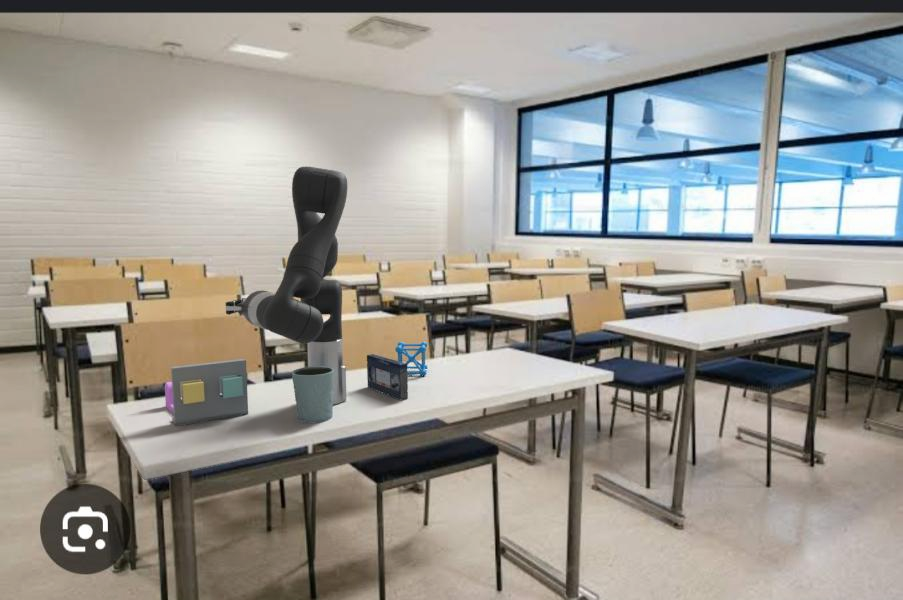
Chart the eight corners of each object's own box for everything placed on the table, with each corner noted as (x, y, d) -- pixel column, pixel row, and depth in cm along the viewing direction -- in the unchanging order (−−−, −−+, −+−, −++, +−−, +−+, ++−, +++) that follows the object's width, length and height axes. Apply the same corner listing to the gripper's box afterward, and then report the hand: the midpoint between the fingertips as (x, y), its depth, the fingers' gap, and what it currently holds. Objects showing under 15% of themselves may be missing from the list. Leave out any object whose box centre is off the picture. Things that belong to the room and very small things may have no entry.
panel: (243, 409, 155) (240, 356, 154) (248, 414, 151) (246, 360, 150) (172, 420, 146) (169, 364, 145) (175, 426, 142) (172, 368, 140)
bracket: (165, 406, 159) (164, 381, 158) (187, 403, 162) (186, 378, 161) (179, 418, 149) (178, 391, 148) (202, 413, 152) (201, 387, 151)
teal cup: (342, 417, 148) (341, 370, 147) (306, 426, 141) (305, 377, 140) (321, 409, 155) (320, 364, 154) (285, 417, 149) (284, 370, 147)
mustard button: (199, 395, 148) (198, 377, 148) (204, 401, 143) (203, 382, 142) (179, 398, 145) (178, 379, 145) (183, 404, 140) (182, 385, 140)
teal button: (236, 389, 153) (235, 372, 152) (243, 395, 148) (242, 377, 147) (217, 392, 150) (216, 374, 150) (223, 398, 145) (222, 379, 145)
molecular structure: (426, 377, 191) (426, 346, 190) (395, 377, 191) (394, 346, 190) (427, 370, 201) (427, 340, 200) (398, 370, 201) (397, 340, 200)
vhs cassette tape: (366, 387, 178) (366, 354, 177) (375, 385, 180) (375, 353, 179) (399, 400, 164) (398, 365, 162) (408, 399, 165) (408, 363, 164)
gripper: (298, 290, 124) (273, 284, 139) (232, 293, 117) (213, 287, 132) (299, 325, 125) (274, 316, 140) (234, 331, 118) (215, 321, 132)
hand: (244, 302), depth 136 cm, fingers closed
